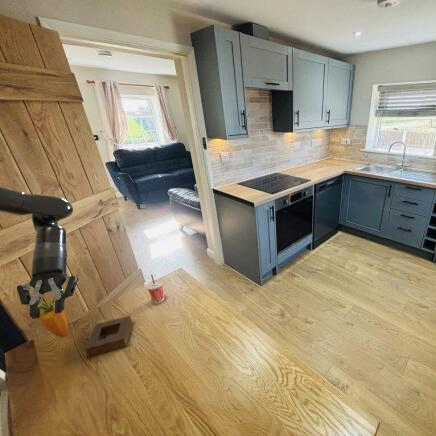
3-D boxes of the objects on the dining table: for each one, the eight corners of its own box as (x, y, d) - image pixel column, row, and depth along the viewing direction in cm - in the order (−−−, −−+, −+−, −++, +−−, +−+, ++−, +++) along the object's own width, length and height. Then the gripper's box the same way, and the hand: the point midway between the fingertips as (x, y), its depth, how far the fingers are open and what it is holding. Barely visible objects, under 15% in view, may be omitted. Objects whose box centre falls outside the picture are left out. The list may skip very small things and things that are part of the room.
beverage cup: (151, 306, 102) (143, 281, 97) (150, 297, 107) (143, 272, 102) (166, 302, 105) (159, 276, 99) (165, 293, 110) (159, 268, 104)
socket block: (89, 357, 81) (85, 349, 80) (99, 331, 91) (95, 324, 89) (126, 346, 85) (123, 338, 84) (132, 323, 94) (129, 315, 93)
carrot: (72, 327, 78) (54, 292, 72) (76, 336, 75) (57, 300, 69) (52, 337, 75) (31, 301, 69) (55, 346, 72) (33, 310, 66)
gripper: (10, 261, 68) (3, 323, 63) (72, 251, 73) (70, 308, 68) (28, 265, 75) (24, 322, 70) (84, 257, 80) (83, 309, 75)
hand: (47, 315), depth 69 cm, fingers closed on carrot, 4 cm apart
